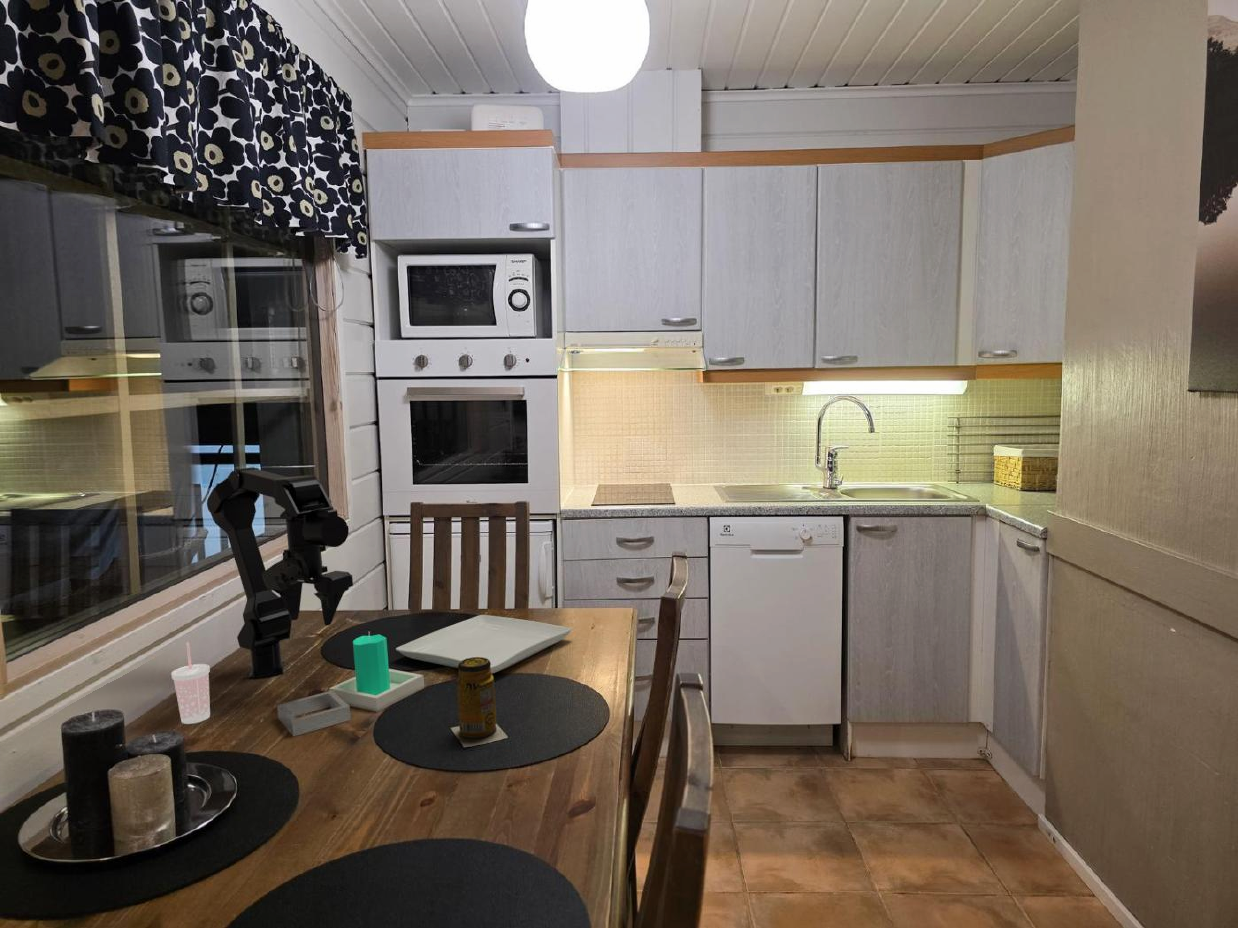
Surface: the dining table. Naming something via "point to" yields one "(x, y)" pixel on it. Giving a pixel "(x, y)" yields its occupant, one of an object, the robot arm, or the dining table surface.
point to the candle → (371, 664)
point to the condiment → (476, 704)
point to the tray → (399, 689)
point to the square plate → (485, 641)
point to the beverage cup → (192, 691)
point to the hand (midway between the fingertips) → (311, 622)
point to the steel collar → (314, 721)
